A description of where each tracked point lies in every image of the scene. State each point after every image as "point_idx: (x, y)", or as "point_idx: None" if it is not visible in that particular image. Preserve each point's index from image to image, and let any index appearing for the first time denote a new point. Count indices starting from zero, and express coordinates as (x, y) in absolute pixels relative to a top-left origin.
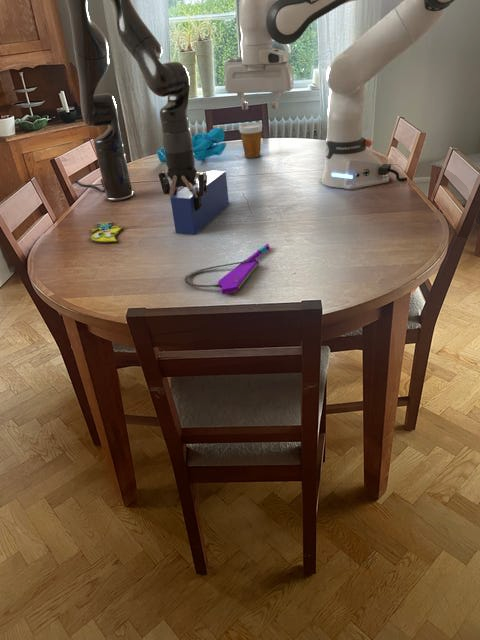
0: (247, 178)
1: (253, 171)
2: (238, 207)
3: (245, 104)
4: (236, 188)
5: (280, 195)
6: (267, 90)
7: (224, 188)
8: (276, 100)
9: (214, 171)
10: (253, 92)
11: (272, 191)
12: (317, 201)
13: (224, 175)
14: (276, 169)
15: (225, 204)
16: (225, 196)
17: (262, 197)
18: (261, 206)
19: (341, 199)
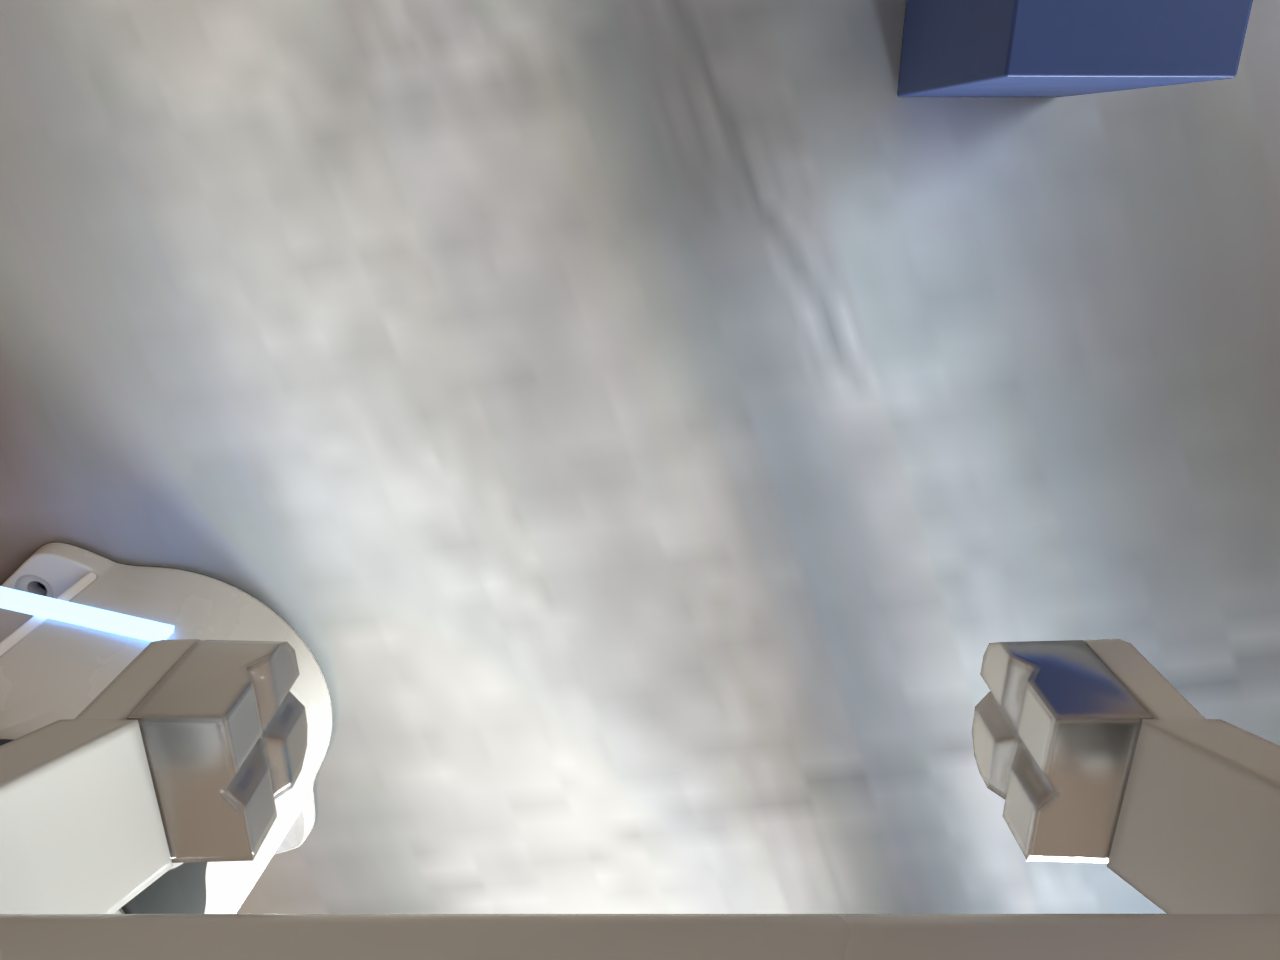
0: (909, 695)
1: (906, 838)
2: (782, 11)
3: (1059, 699)
4: (935, 471)
5: (525, 359)
6: (68, 951)
7: (955, 5)
8: (22, 751)
9: (1145, 40)
10: (827, 914)
11: (619, 440)
12: (187, 265)
13: (998, 22)
14: (745, 889)
15: (909, 12)
16: (928, 20)
17: (654, 293)
18: (589, 72)
19: (31, 336)
